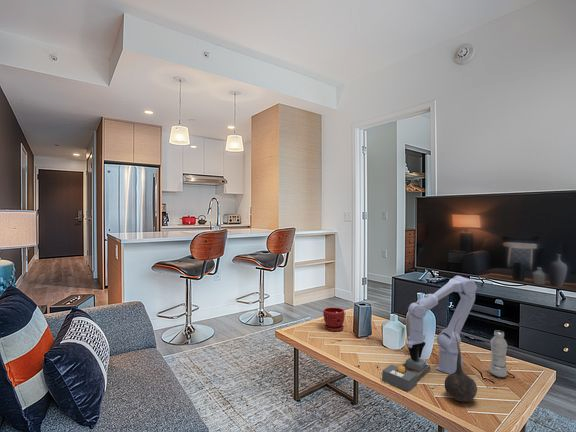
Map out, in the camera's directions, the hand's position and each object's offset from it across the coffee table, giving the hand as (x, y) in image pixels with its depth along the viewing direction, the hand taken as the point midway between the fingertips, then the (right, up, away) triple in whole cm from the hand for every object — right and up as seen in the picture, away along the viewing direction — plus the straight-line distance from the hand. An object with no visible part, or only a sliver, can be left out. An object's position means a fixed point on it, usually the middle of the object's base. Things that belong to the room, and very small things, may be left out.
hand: (415, 358), depth 151 cm
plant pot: (-31, -5, +52) cm, 61 cm away
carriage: (0, -4, 0) cm, 4 cm away
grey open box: (-11, -6, -11) cm, 17 cm away
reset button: (-10, -3, -10) cm, 15 cm away
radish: (+9, -6, -22) cm, 24 cm away
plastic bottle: (+36, -6, -4) cm, 36 cm away
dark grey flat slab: (-3, -5, -2) cm, 6 cm away
